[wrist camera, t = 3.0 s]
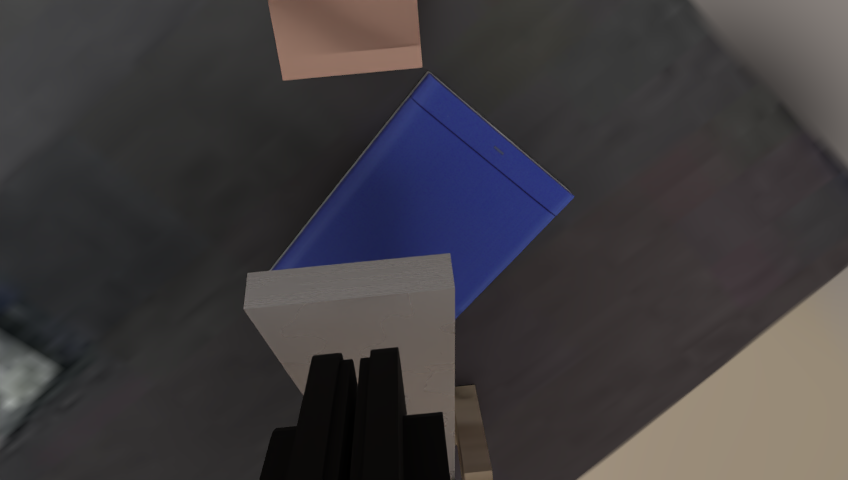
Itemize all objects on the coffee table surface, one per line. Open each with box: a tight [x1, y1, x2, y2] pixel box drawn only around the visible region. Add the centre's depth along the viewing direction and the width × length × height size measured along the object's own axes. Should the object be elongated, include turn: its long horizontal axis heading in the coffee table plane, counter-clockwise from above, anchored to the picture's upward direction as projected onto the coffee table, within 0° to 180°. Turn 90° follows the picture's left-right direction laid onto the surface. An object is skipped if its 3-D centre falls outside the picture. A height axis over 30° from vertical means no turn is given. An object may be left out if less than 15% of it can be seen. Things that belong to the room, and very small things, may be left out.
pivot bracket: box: [455, 385, 493, 480], centre depth 27 cm, size 3×7×6 cm, turn 95°
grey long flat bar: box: [244, 253, 455, 480], centre depth 18 cm, size 19×4×1 cm, turn 5°
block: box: [268, 0, 422, 81], centre depth 18 cm, size 4×4×6 cm
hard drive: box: [269, 71, 574, 319], centre depth 24 cm, size 2×8×12 cm
